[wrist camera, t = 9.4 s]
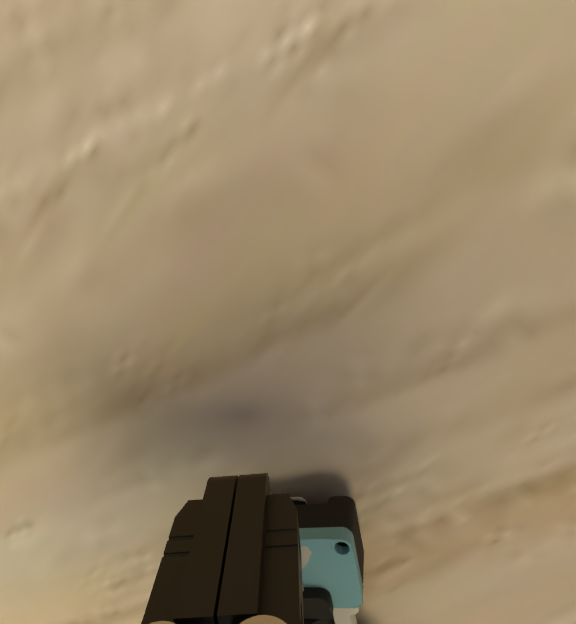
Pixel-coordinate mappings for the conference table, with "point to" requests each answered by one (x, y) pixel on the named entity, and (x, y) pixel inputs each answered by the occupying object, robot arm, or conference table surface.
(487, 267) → the conference table surface
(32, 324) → the conference table surface
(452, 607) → the conference table surface
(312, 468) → the conference table surface
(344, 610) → the push button
